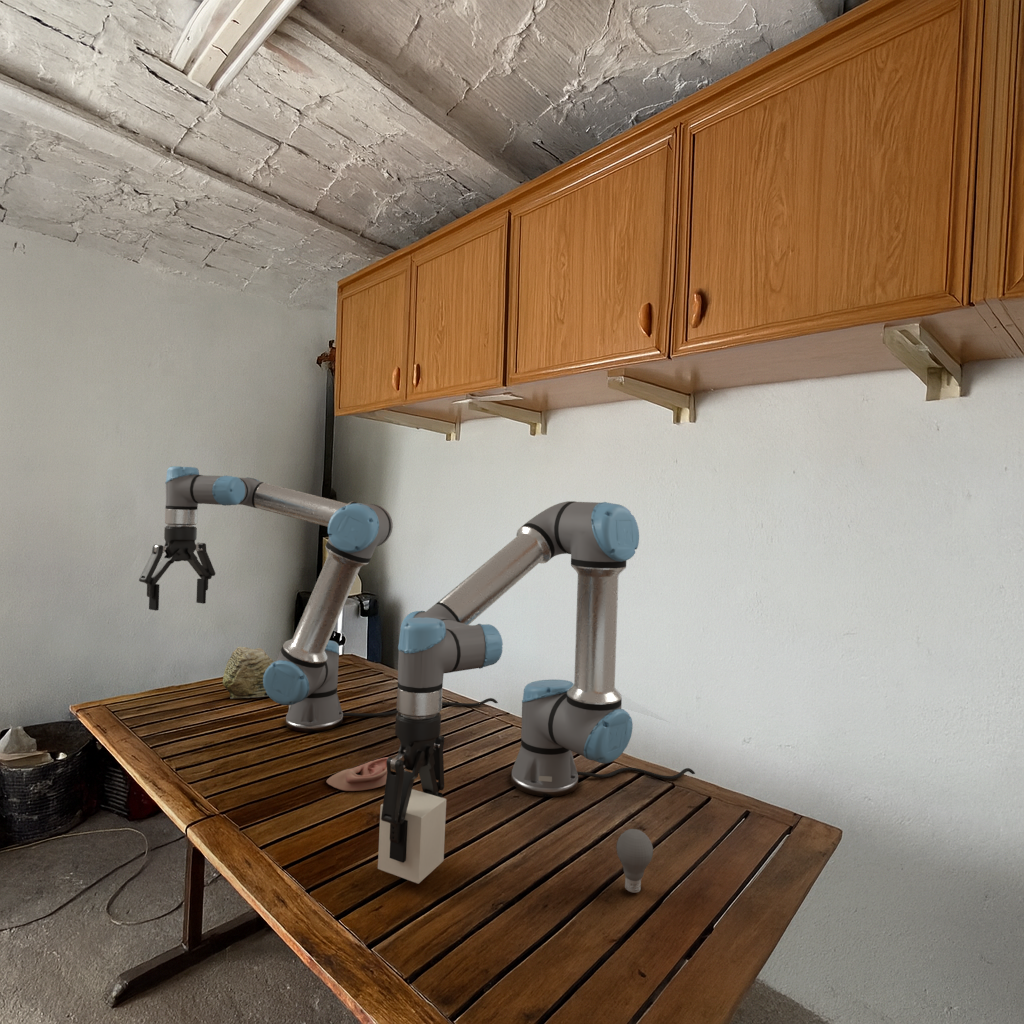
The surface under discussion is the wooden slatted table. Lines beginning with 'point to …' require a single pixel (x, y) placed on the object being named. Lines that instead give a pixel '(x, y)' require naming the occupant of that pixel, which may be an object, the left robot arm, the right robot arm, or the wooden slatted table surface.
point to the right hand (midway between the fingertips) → (412, 847)
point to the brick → (417, 838)
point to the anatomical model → (361, 776)
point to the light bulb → (634, 857)
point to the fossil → (246, 673)
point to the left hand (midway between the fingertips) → (178, 606)
